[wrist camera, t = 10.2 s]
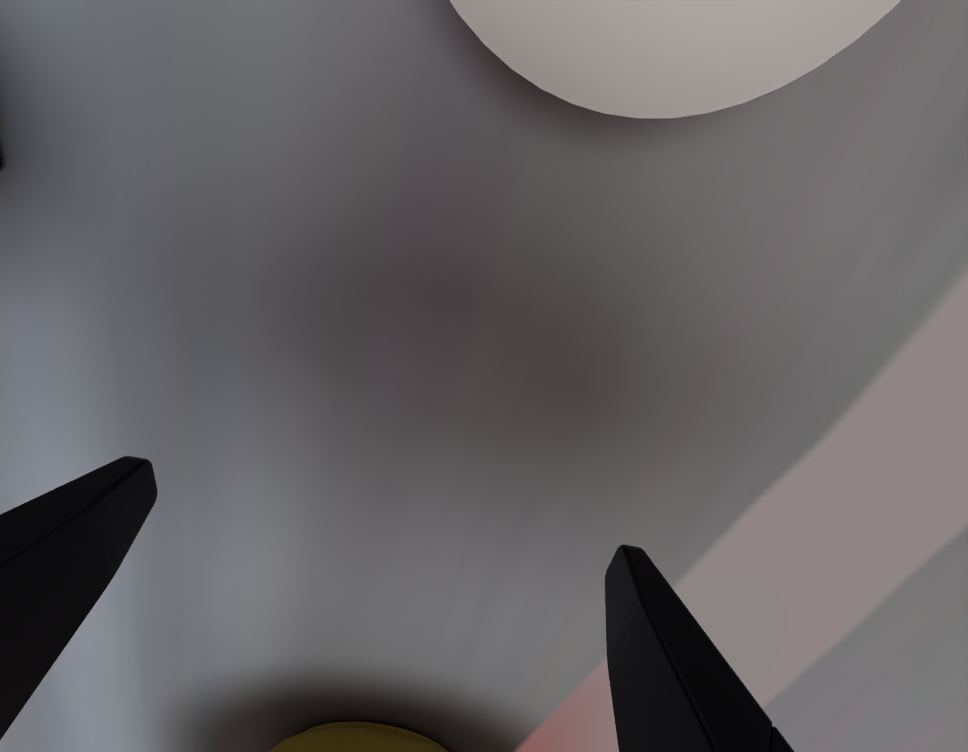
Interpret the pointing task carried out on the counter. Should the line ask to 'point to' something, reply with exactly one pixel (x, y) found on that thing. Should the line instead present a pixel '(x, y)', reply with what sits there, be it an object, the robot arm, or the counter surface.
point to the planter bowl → (357, 739)
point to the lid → (666, 47)
